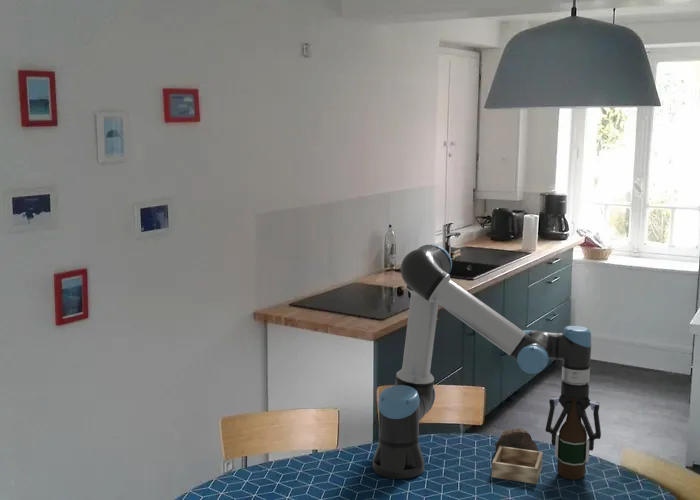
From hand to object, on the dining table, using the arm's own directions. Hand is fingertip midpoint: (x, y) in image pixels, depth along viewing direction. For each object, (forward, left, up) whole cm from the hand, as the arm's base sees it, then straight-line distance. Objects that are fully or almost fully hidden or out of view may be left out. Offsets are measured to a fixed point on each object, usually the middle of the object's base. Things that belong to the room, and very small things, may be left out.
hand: (571, 458), depth 213 cm
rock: (-17, +12, -5) cm, 22 cm away
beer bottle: (0, 0, -5) cm, 5 cm away
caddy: (-15, -3, -5) cm, 16 cm away
